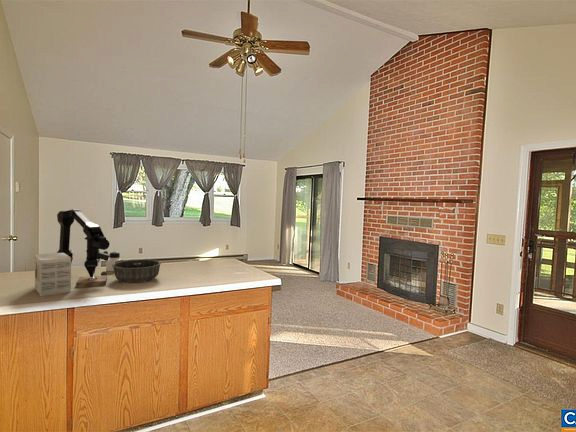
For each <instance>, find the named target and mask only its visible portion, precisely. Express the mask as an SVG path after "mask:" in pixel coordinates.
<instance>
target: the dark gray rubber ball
mask: <svg viewBox="0 0 576 432" xmlns="http://www.w3.org/2000/svg"><path fill="white" fill-rule="evenodd" d="M104 275H107V276H108V271H106V270H103V271H101V272H100V276H104Z"/></svg>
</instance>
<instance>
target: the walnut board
mask: <svg viewBox="0 0 576 432" xmlns="http://www.w3.org/2000/svg"><path fill="white" fill-rule="evenodd" d="M93 277H95V278H96V280H89V279H90V278H91V277H90V275H87V276H79V277H78V278H77V281H76V282H75V288H87V287H88V288H89V287H100V286H101V287H102V286H106V285H107V282H108V274H107V275H104V276H101V275H93Z"/></svg>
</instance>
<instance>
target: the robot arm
mask: <svg viewBox="0 0 576 432" xmlns="http://www.w3.org/2000/svg"><path fill="white" fill-rule="evenodd" d="M56 218H57V222H58V224H59V225H60V230H59V248H58V251H57V252H56V253H65V254H67V255H68V256H70V257H71V264H72V261H73V260H74V259H73V255H74V253H73V252H71V250H70V242H71V241H70V240H71V227H72V225H73V224H74V221H76V222H77V223H78V224H79V226H81V227H82V232H83V233H84V234H85V236H86V237H84V240H86V250H85V251H86V259H85V261H84V263H83V264H84V267H85V270H86V271H87V273H88V276H90V277H93V276H94V274H95V271H96V269H97V267H98V266H99V262H100V261H101V260H104V261H105V262H106V261H108V260H109V256H110V255H109V254H110V253H109V251H107V250H108V248H109V247H110V241H109V240H108V239H107V237H105V234H104V233H103V231H102V228H101V227H100V225H99V224H96V223H94V222H92V221H91V220H90V219H89V218H88V217H86V216H85V214H83V212H82V211H81V210H80V209H73V208H71V209H69V210H60V211H59V212H57V215H56ZM100 250H103V251H100Z"/></svg>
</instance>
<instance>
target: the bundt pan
mask: <svg viewBox="0 0 576 432" xmlns="http://www.w3.org/2000/svg"><path fill="white" fill-rule="evenodd" d="M161 264H162V262H160V261H159V260H155V259H154V260H153V259H131V260H130V259H129V260H123V261H122V262H118V263H115V264H113V265H112V266H113V268H114V272H113V273H114V276H115V278H116V279H117V280H118V281H119V282H122V283H125V284H126V283H128V284H130V283H131V284H132V283H135V284H137V283H144V282H150V281H152V280H154V279H156V277H157V276H158V275H159V272H160V266H161Z"/></svg>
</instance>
